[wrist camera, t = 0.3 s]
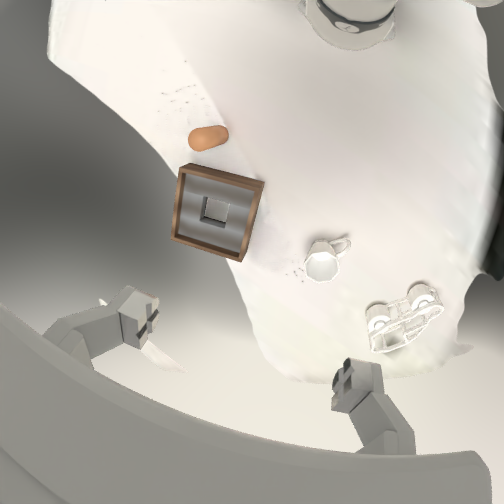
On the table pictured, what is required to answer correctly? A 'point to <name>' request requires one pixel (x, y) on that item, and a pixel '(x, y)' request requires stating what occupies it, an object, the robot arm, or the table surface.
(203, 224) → the box
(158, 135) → the table surface
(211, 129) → the peg
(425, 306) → the skeletal toy car
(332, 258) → the cup
